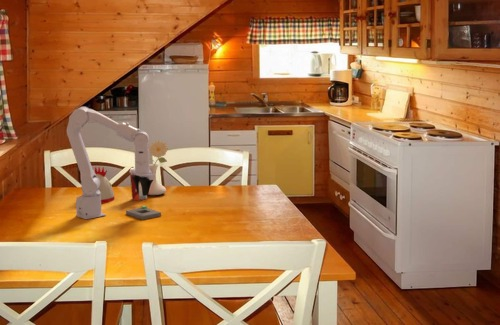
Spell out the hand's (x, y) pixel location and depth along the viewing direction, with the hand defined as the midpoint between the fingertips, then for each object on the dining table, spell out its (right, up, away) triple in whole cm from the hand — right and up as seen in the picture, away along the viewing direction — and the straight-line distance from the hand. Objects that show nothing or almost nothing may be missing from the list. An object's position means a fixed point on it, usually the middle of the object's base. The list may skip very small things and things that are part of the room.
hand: (142, 194), depth 281 cm
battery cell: (0, -2, 0) cm, 2 cm away
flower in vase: (0, -2, +39) cm, 39 cm away
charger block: (0, -8, +2) cm, 9 cm away
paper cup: (-6, -4, +29) cm, 30 cm away
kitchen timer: (-24, -4, +28) cm, 37 cm away
